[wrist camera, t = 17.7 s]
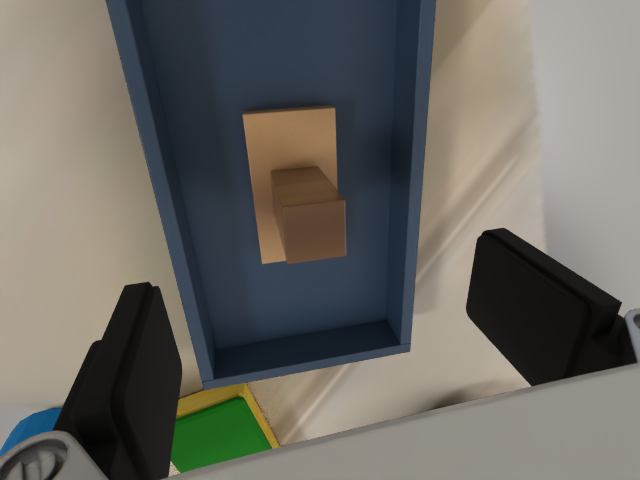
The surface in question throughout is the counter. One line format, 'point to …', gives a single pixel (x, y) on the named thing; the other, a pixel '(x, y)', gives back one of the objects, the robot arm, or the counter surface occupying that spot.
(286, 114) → the two-tone wood block
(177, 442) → the dish sponge
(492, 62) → the counter surface
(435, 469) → the robot arm
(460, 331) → the counter surface
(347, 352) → the baking dish
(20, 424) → the bottle
